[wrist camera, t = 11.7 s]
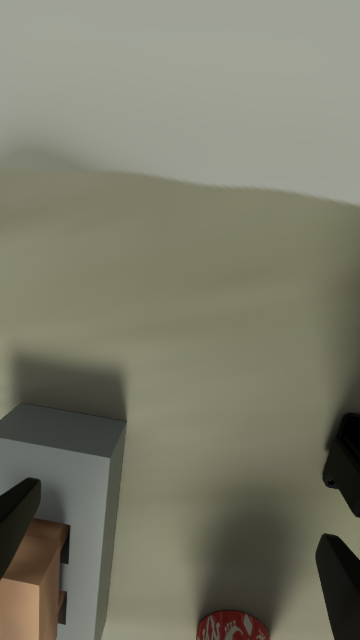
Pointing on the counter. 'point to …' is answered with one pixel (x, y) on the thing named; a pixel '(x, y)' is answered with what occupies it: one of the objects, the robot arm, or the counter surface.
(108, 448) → the rail
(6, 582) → the tan pronged block
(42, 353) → the counter surface
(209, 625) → the mug
